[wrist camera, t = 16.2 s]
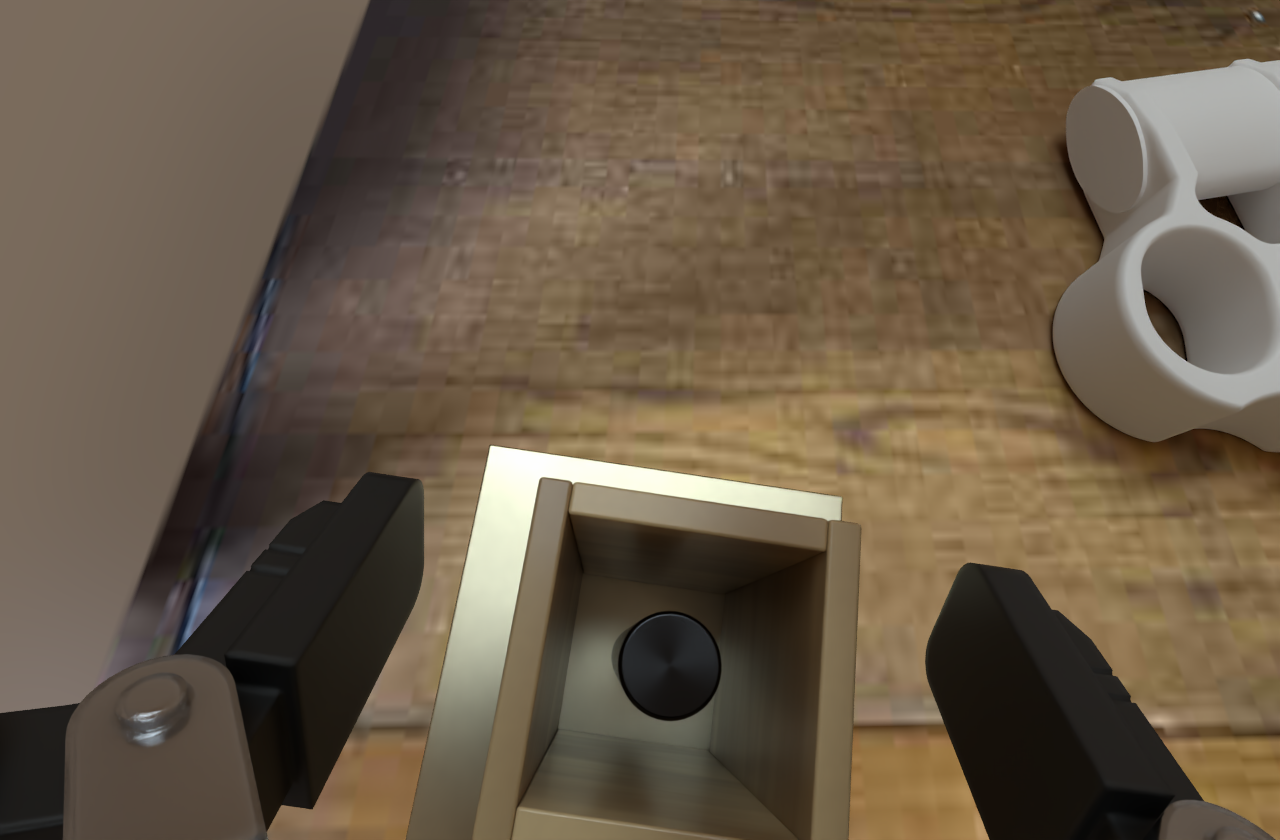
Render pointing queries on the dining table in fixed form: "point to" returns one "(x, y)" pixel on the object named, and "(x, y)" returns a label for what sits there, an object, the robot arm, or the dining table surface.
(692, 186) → the dining table surface
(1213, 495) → the dining table surface
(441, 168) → the dining table surface
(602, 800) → the birch sleeve
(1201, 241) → the white brass knuckles
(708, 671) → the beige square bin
